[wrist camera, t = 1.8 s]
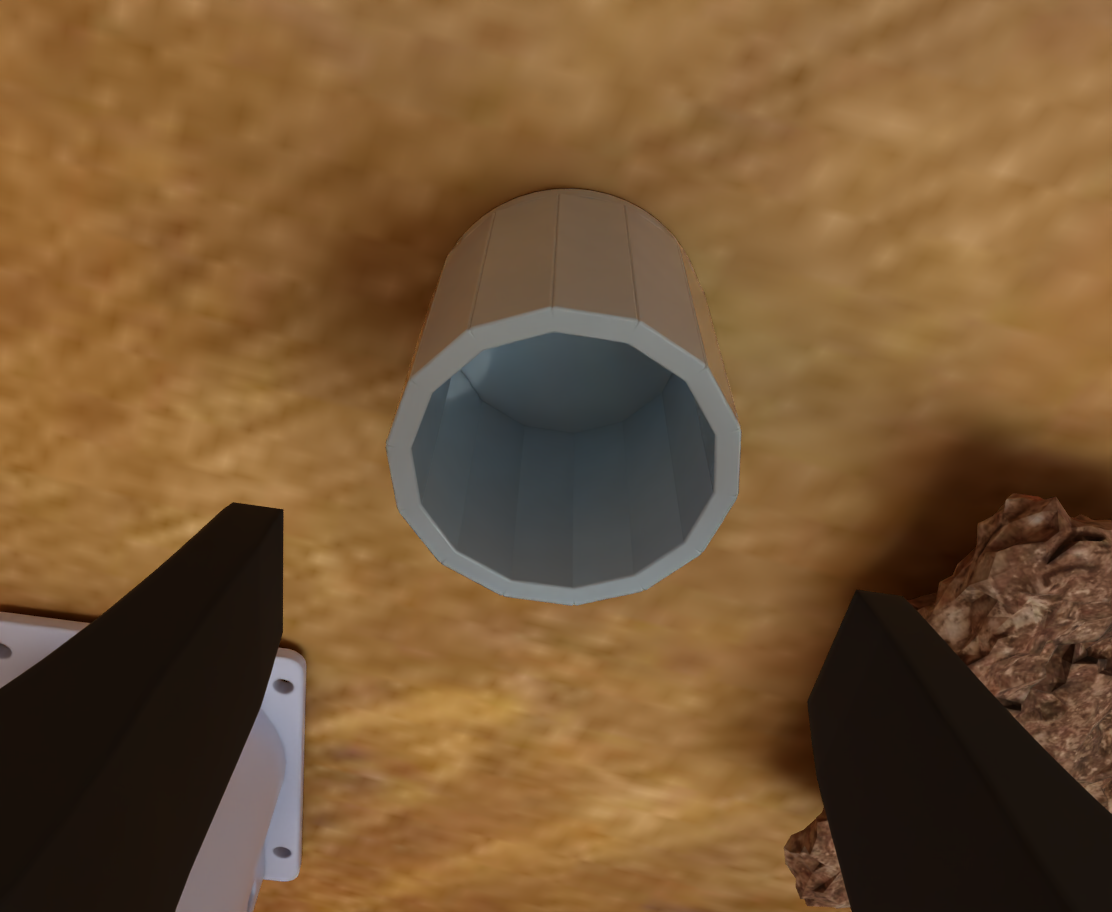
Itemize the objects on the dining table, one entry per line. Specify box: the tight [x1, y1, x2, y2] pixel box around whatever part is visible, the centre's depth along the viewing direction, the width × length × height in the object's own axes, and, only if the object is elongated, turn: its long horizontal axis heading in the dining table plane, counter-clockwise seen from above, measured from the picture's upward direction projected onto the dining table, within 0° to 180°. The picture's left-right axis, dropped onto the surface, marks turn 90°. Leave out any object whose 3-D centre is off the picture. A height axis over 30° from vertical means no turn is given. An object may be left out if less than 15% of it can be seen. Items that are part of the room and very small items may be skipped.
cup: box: [386, 189, 742, 606], centre depth 17 cm, size 5×6×6 cm
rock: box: [784, 493, 1112, 908], centre depth 24 cm, size 14×13×4 cm
